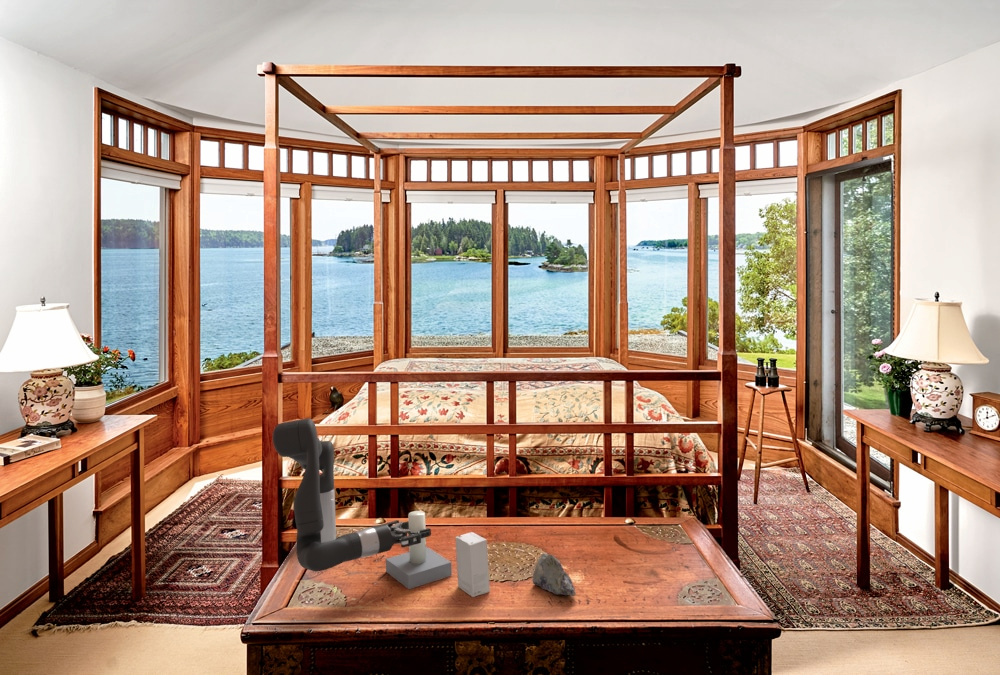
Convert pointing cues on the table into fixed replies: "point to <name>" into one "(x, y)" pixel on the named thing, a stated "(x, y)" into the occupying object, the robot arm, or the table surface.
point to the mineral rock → (552, 576)
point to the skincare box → (472, 564)
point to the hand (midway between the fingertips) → (423, 527)
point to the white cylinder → (419, 550)
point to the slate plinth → (418, 569)
